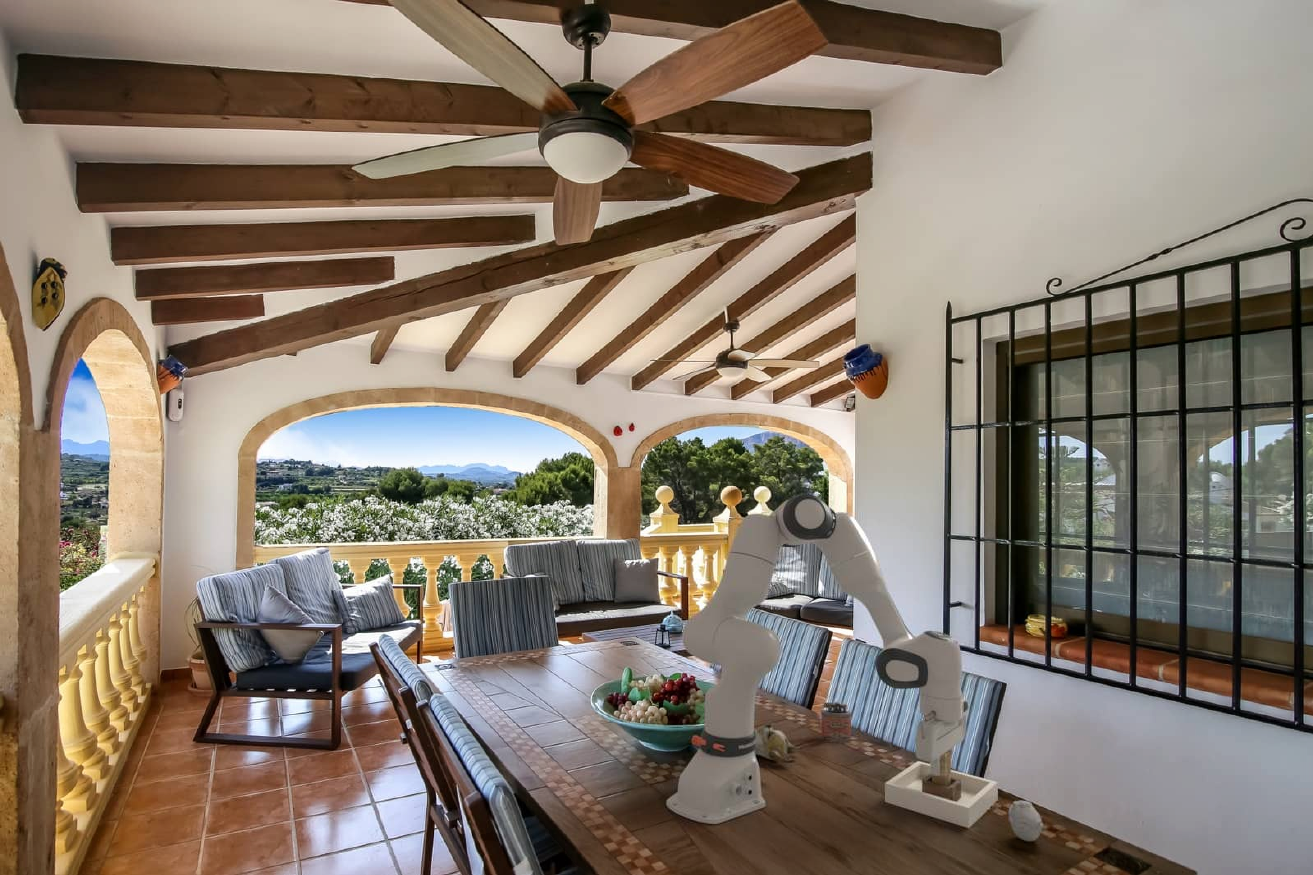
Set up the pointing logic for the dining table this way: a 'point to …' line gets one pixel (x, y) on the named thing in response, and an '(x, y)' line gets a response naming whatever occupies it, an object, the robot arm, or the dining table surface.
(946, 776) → the tan wooden block
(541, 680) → the dining table surface
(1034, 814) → the grey rounded stone
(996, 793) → the tray
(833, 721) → the lighter
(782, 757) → the ceramic sculpture
